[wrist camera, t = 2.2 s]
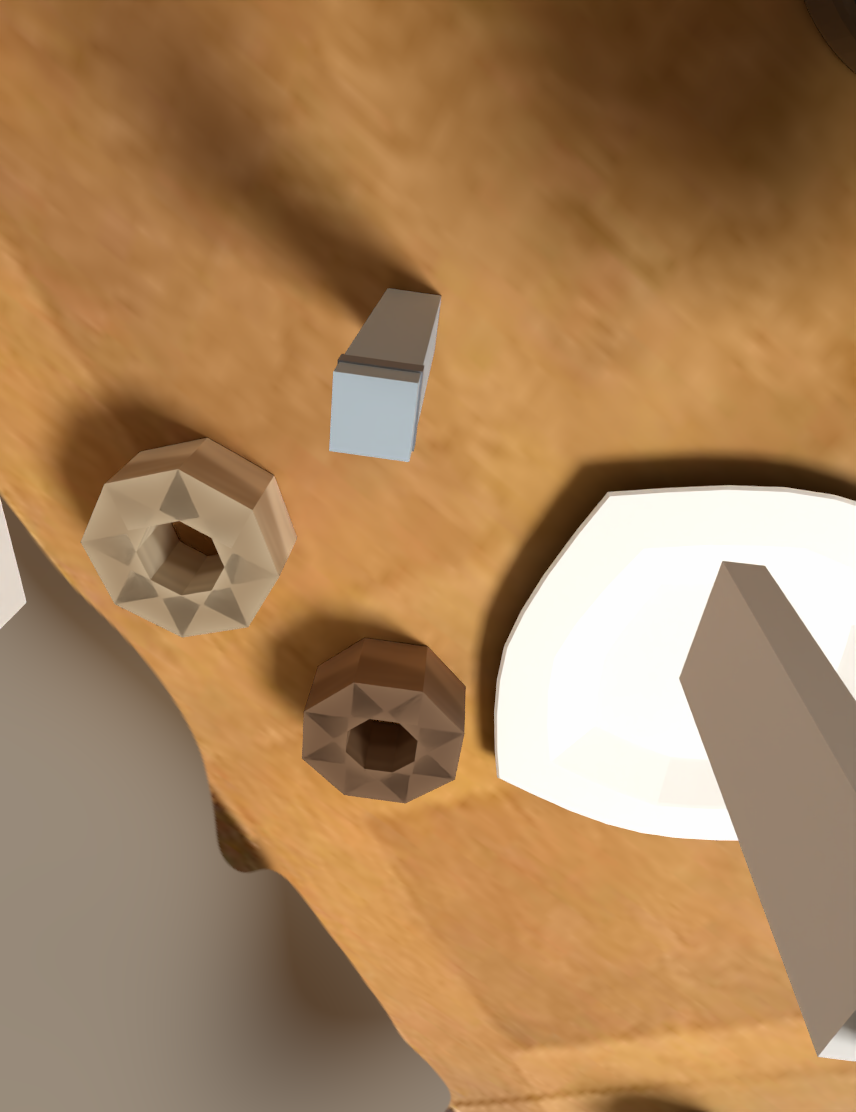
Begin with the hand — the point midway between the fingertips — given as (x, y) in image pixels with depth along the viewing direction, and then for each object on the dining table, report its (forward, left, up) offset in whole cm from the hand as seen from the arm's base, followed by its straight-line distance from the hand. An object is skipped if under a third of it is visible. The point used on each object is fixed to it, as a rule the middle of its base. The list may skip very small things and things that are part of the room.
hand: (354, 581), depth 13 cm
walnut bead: (+20, 0, -19) cm, 28 cm away
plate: (+15, +17, -19) cm, 30 cm away
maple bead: (+10, -10, -19) cm, 23 cm away
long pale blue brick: (-1, -1, -19) cm, 19 cm away
